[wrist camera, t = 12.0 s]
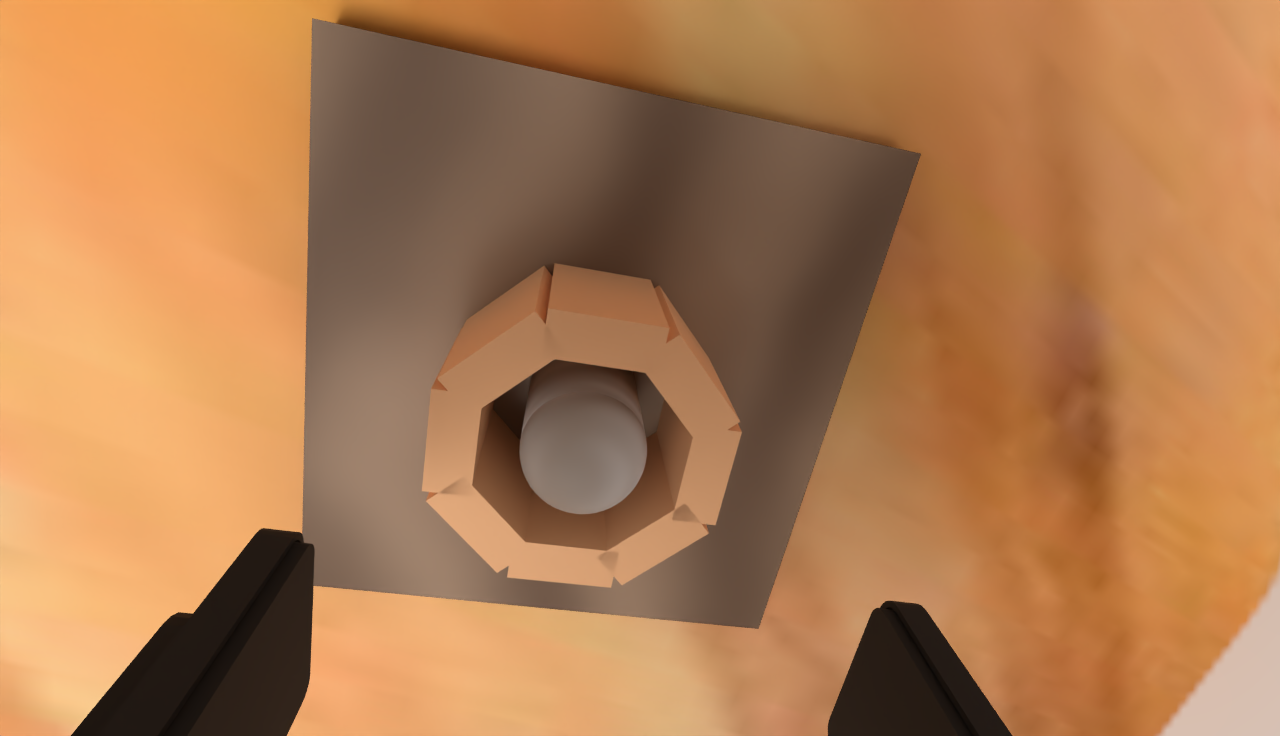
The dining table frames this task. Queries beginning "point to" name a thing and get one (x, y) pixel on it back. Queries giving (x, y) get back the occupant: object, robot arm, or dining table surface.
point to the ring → (489, 451)
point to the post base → (541, 236)
